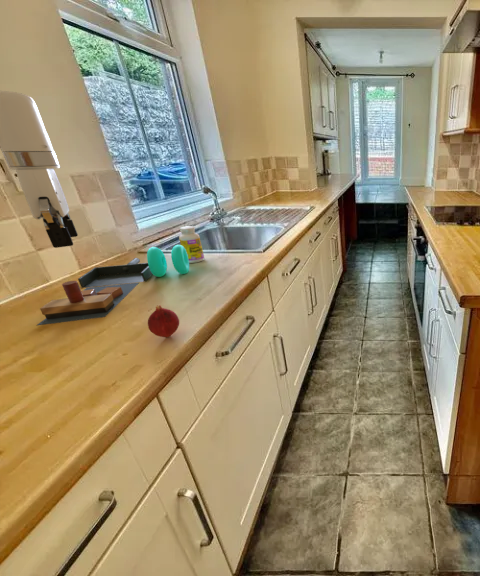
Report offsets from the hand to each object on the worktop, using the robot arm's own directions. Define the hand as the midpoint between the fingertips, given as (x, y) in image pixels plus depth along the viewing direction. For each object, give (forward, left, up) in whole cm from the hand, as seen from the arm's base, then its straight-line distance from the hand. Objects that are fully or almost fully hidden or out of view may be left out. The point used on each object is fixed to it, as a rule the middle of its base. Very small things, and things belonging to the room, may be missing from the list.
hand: (66, 241), depth 73 cm
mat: (-5, +11, -20) cm, 24 cm away
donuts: (+10, +29, -20) cm, 36 cm away
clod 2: (-2, +14, -20) cm, 24 cm away
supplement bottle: (+14, +43, -20) cm, 49 cm away
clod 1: (-8, +14, -20) cm, 25 cm away
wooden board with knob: (-5, +5, -20) cm, 21 cm away
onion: (+20, -15, -20) cm, 32 cm away
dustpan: (-5, +34, -20) cm, 40 cm away
